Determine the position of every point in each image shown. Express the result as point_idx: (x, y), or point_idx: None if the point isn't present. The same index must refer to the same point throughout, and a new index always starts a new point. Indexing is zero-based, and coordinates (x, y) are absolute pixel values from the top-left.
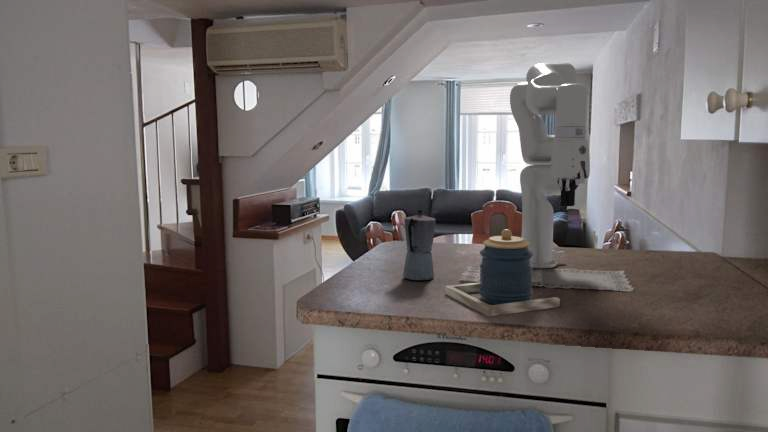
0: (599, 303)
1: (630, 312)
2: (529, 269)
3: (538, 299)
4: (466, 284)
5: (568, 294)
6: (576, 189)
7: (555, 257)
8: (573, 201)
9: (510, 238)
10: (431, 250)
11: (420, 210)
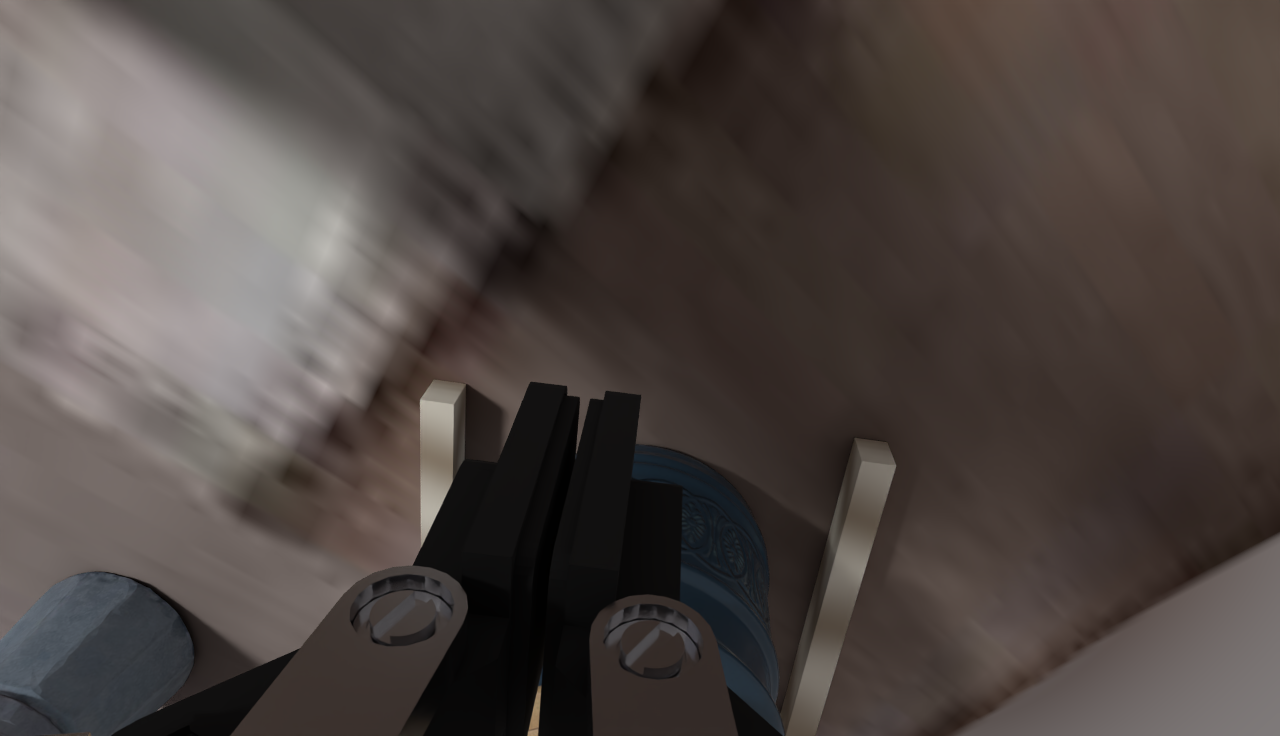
0: (987, 219)
1: (1213, 214)
2: (773, 649)
3: (840, 553)
4: None
5: (746, 224)
6: (710, 637)
7: None
8: (680, 497)
9: None
10: (26, 708)
11: None
